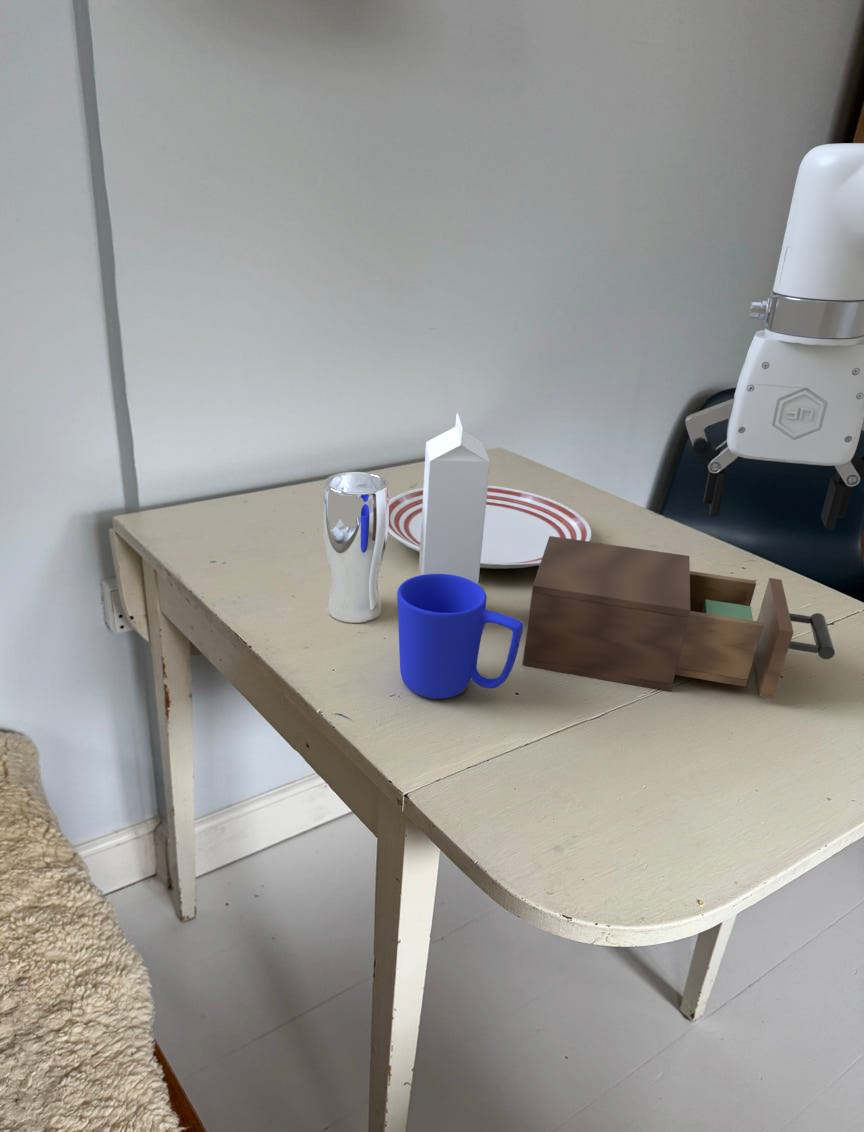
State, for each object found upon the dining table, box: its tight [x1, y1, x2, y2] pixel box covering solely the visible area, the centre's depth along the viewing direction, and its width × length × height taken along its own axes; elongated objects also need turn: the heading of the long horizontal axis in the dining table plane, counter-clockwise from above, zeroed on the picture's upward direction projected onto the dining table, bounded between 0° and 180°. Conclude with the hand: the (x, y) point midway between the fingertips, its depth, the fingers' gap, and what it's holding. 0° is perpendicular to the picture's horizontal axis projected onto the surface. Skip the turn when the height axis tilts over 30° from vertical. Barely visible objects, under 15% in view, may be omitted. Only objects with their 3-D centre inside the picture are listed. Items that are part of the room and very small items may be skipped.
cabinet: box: [522, 536, 691, 692], centre depth 89 cm, size 15×13×9 cm
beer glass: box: [322, 471, 390, 624], centre depth 93 cm, size 7×7×15 cm
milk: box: [417, 412, 491, 585], centre depth 91 cm, size 6×6×22 cm
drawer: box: [675, 570, 836, 699], centre depth 87 cm, size 18×11×7 cm, turn 73°
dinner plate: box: [388, 484, 593, 570], centre depth 114 cm, size 27×27×3 cm
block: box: [702, 600, 754, 621], centre depth 87 cm, size 4×4×4 cm
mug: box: [396, 574, 524, 700], centre depth 81 cm, size 8×12×10 cm
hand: (769, 517), depth 79 cm, fingers open, 9 cm apart
